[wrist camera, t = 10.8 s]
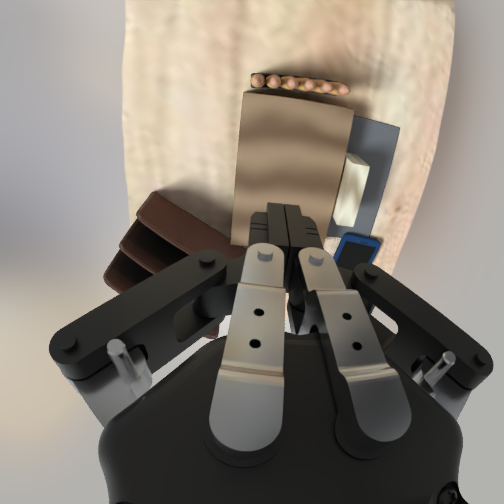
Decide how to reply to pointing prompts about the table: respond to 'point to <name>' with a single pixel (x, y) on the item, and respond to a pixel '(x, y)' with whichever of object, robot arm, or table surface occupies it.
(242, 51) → the table surface
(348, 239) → the cell phone
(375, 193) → the mat
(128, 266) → the letter holder
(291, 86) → the ammunition clip
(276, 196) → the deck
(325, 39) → the table surface
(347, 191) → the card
